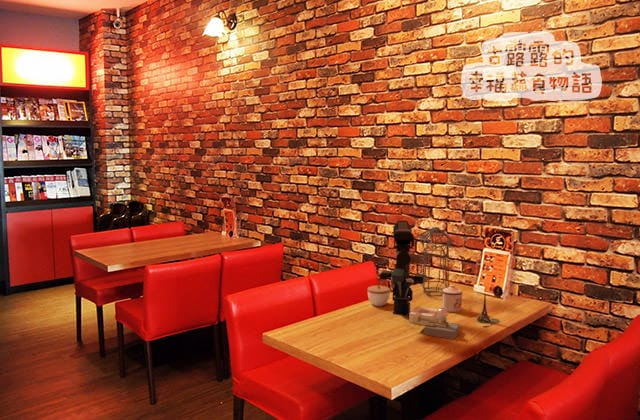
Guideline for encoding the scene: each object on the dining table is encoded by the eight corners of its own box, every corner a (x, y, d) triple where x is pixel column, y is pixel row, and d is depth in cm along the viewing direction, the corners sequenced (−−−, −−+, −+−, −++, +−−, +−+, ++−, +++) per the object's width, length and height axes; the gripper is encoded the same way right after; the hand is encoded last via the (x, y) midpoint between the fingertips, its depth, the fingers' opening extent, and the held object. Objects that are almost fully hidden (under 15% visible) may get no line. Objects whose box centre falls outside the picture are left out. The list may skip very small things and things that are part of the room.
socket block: (424, 334, 219) (424, 327, 219) (430, 326, 228) (430, 320, 228) (454, 339, 214) (454, 331, 213) (459, 331, 223) (459, 324, 222)
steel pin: (437, 333, 220) (437, 309, 219) (439, 330, 223) (439, 307, 222) (445, 334, 219) (445, 310, 218) (446, 332, 222) (447, 308, 220)
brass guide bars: (412, 323, 223) (412, 316, 223) (416, 319, 228) (416, 312, 228) (445, 328, 217) (445, 321, 217) (448, 323, 222) (449, 317, 222)
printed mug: (456, 313, 245) (457, 288, 244) (438, 310, 251) (438, 285, 249) (467, 307, 254) (468, 283, 253) (449, 303, 260) (450, 280, 259)
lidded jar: (365, 306, 257) (365, 287, 256) (370, 300, 267) (370, 281, 266) (387, 308, 254) (387, 289, 252) (391, 302, 264) (392, 283, 262)
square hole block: (409, 322, 234) (409, 313, 234) (415, 315, 243) (415, 306, 243) (432, 325, 230) (432, 316, 229) (437, 318, 239) (438, 309, 238)
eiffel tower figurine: (485, 329, 226) (486, 298, 224) (465, 323, 233) (465, 293, 232) (504, 321, 236) (505, 291, 234) (483, 316, 243) (484, 287, 242)
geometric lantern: (443, 289, 285) (446, 224, 280) (452, 298, 270) (456, 230, 265) (414, 289, 284) (416, 224, 279) (421, 299, 269) (424, 230, 264)
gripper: (375, 262, 222) (374, 299, 224) (419, 266, 214) (418, 304, 215) (384, 257, 232) (383, 292, 234) (426, 261, 223) (426, 297, 225)
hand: (402, 296), depth 227 cm, fingers closed
